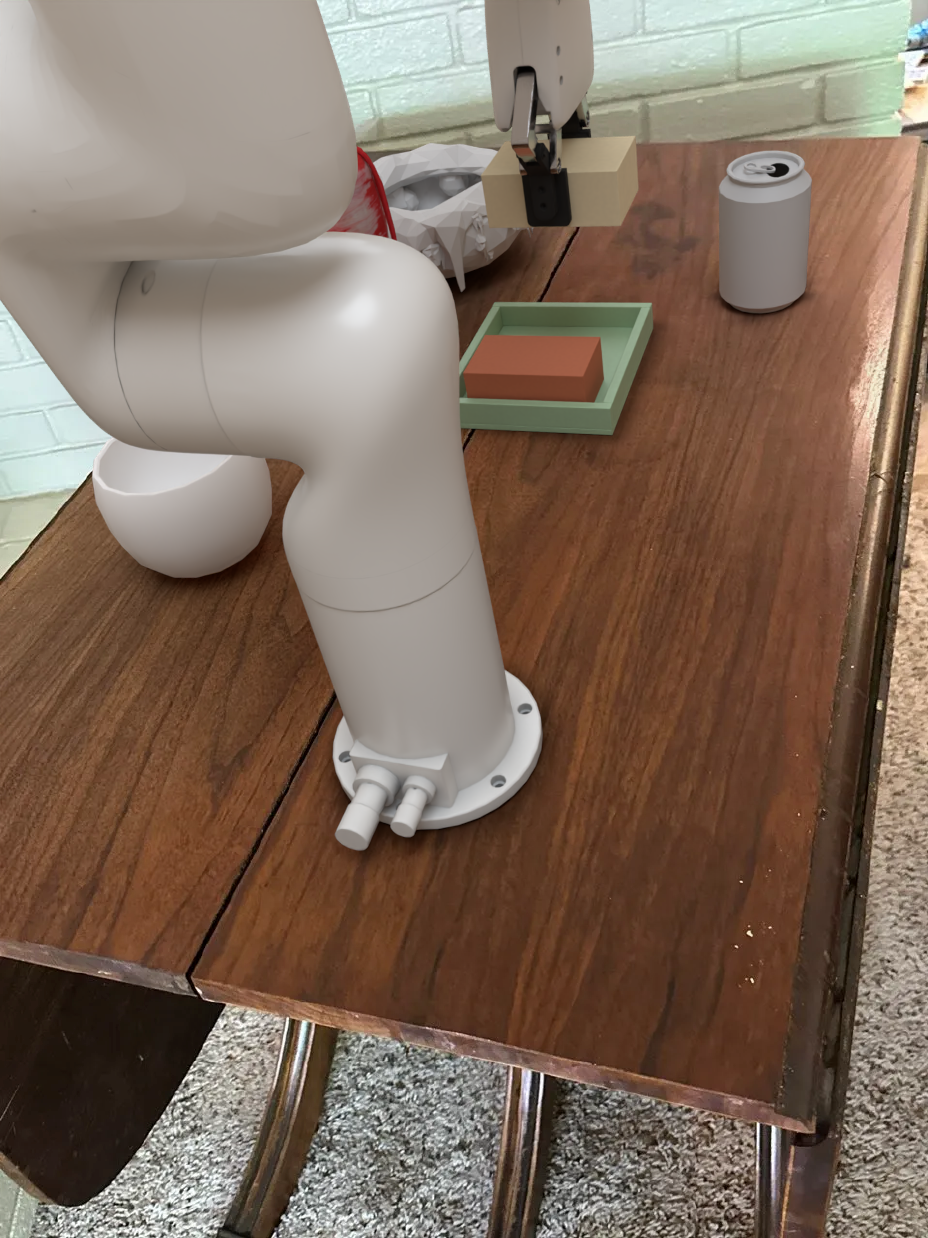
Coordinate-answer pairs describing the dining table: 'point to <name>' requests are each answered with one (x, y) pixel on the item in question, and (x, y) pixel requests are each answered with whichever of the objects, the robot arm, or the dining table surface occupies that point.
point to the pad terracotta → (536, 368)
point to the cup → (182, 506)
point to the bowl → (444, 206)
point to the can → (764, 231)
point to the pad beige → (569, 182)
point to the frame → (612, 322)
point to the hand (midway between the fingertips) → (562, 201)
